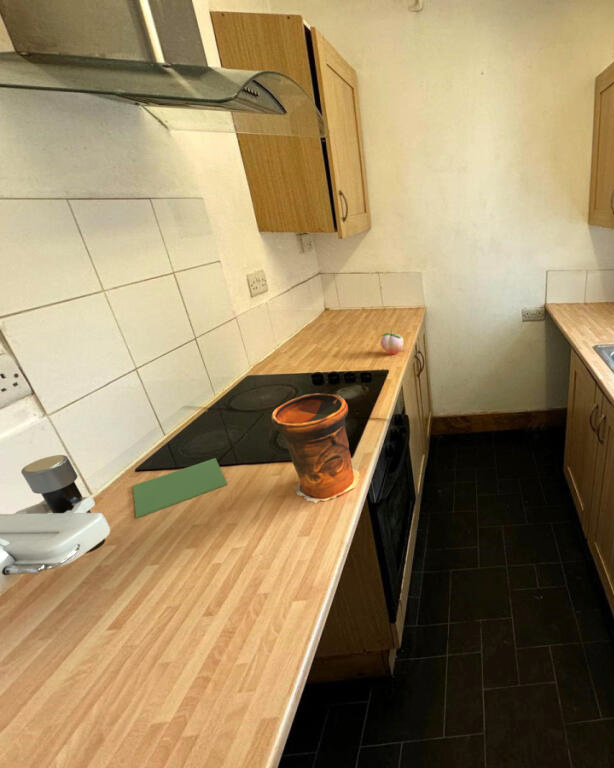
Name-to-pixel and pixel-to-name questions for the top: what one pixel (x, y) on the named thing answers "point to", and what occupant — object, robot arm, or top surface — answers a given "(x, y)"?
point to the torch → (55, 484)
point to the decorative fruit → (392, 342)
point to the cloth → (177, 487)
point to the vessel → (317, 445)
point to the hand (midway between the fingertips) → (72, 500)
